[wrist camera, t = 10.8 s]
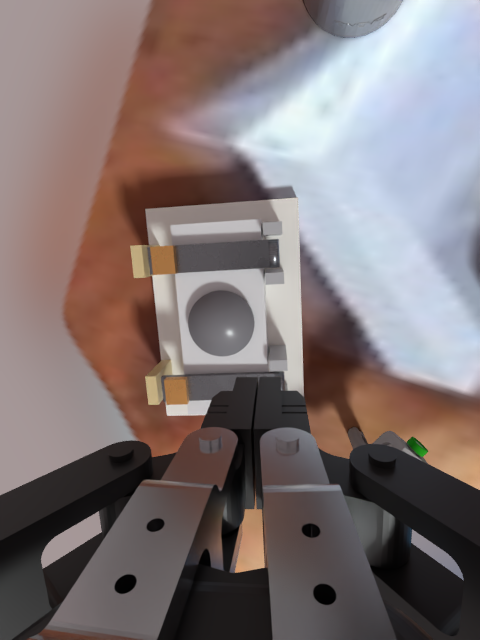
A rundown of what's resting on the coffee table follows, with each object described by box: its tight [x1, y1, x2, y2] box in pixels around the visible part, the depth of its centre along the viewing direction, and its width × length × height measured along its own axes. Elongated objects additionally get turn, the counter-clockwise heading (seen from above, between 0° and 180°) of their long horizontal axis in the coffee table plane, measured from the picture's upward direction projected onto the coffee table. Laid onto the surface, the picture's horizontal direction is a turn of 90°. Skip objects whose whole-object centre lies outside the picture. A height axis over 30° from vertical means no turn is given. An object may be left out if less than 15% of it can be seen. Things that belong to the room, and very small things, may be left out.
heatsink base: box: [130, 198, 304, 416], centre depth 36 cm, size 22×15×6 cm
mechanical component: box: [348, 427, 428, 464], centre depth 36 cm, size 3×10×10 cm, turn 141°
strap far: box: [161, 371, 285, 405], centre depth 35 cm, size 2×12×2 cm, turn 94°
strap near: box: [147, 239, 280, 275], centre depth 32 cm, size 2×12×2 cm, turn 94°
